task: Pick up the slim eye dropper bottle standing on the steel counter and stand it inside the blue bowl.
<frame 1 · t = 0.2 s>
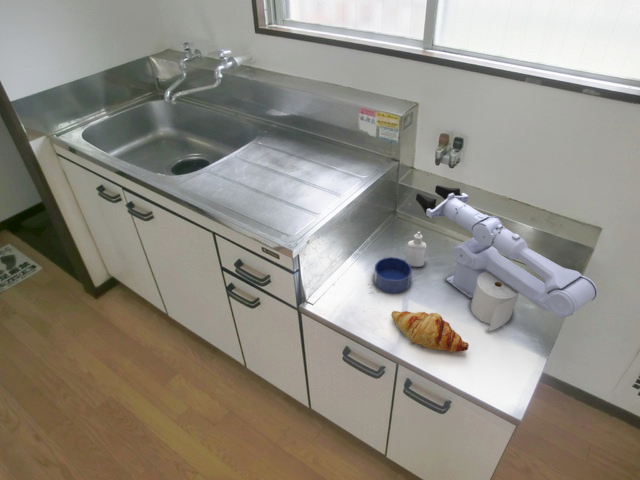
hand: (426, 192, 133), 21 cm above the worktop, tool horizontal, fingers open, 7 cm apart
blue bowl: (391, 281, 134), on the worktop
toilet tissue: (491, 312, 124), on the worktop, touching arm
eye dropper bottle: (414, 263, 141), on the worktop
croissant: (427, 335, 118), on the worktop
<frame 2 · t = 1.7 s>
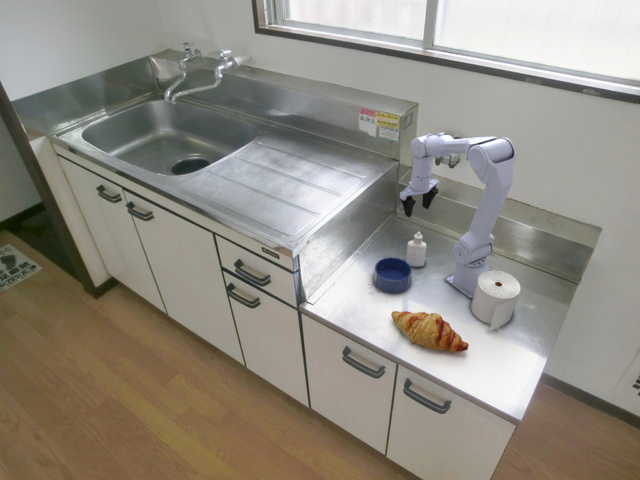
hand: (416, 211, 145), 10 cm above the worktop, tool pointing down, fingers open, 7 cm apart
toilet tissue: (492, 312, 124), on the worktop
everything else where it was.
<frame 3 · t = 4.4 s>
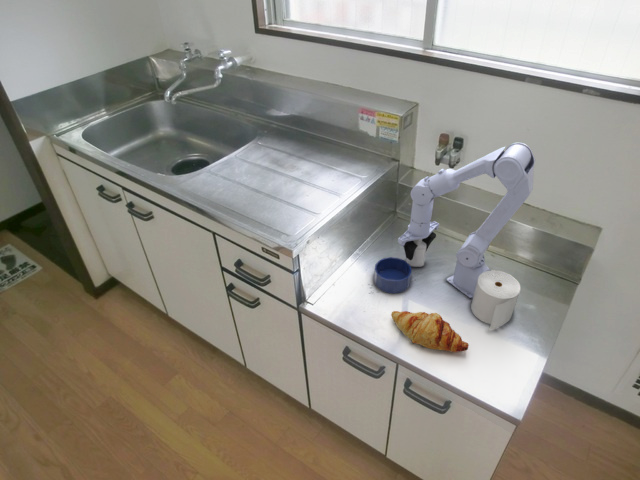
hand: (415, 254, 138), 3 cm above the worktop, tool pointing down, fingers closed on eye dropper bottle, 5 cm apart
eye dropper bottle: (414, 263, 141), on the worktop, touching gripper
everything else where it was.
when the fingers open (4 cm above the worktop, at t = 9.3 s): eye dropper bottle stays where it is, resting on blue bowl.
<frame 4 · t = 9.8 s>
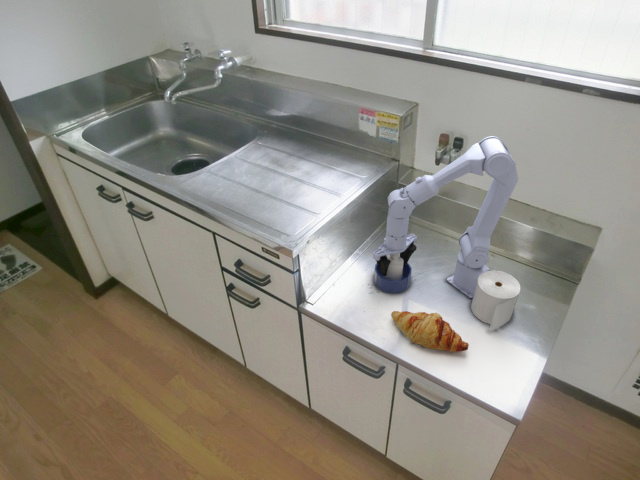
hand: (393, 269, 132), 5 cm above the worktop, tool pointing down, fingers open, 7 cm apart
eye dropper bottle: (391, 279, 134), resting on blue bowl
everything else where it was.
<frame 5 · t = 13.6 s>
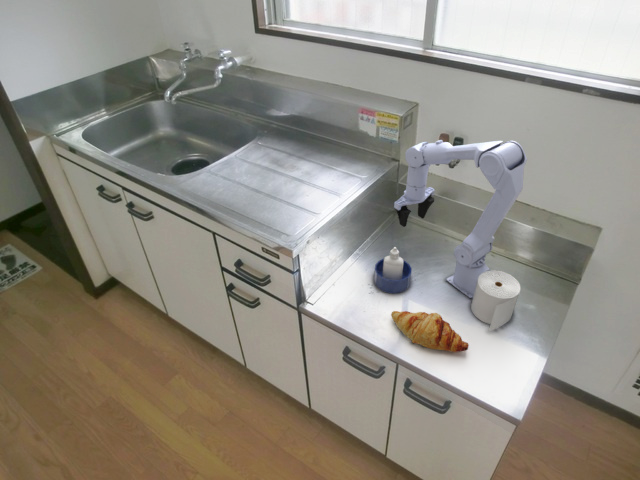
hand: (411, 221, 140), 10 cm above the worktop, tool pointing down, fingers open, 7 cm apart
nothing on the worktop moved.
at the end: eye dropper bottle inside the target area in the blue bowl (0.0 cm from its centre), point 0.4 cm above the blue bowl's base; the gripper is holding nothing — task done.
